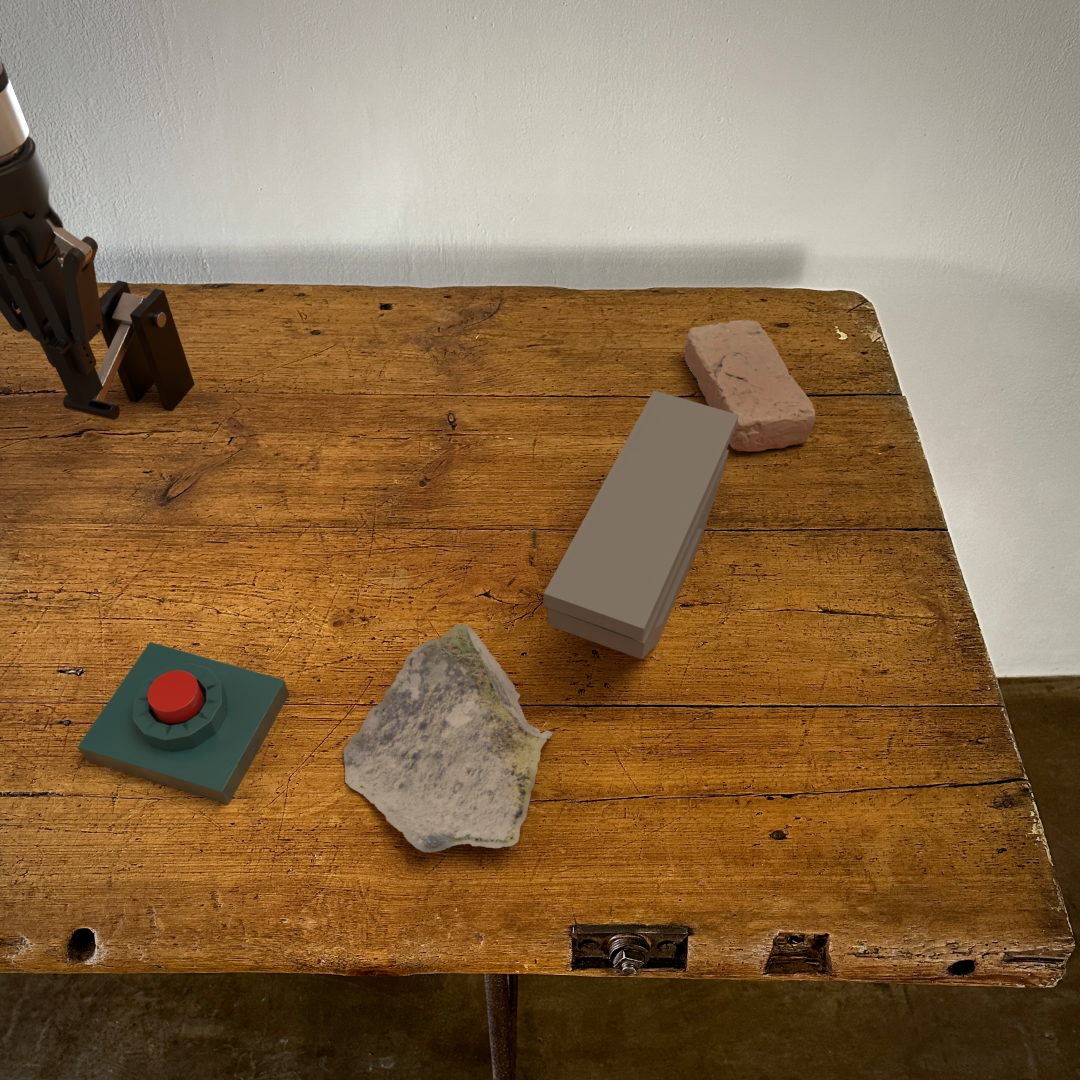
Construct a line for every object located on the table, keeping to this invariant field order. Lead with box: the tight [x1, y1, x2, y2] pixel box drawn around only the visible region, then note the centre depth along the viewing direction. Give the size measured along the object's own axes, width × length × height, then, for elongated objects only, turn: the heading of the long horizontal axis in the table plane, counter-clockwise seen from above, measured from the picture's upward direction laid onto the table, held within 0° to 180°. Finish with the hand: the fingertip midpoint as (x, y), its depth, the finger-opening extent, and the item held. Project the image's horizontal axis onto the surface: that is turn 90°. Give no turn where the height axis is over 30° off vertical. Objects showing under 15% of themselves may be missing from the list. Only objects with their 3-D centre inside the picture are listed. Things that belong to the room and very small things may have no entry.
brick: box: [683, 319, 816, 452], centre depth 101 cm, size 17×8×5 cm, turn 13°
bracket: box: [99, 279, 195, 412], centre depth 96 cm, size 12×9×13 cm
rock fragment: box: [343, 623, 553, 853], centre depth 72 cm, size 15×16×5 cm
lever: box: [62, 293, 146, 421], centre depth 91 cm, size 12×5×2 cm, turn 163°
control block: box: [77, 641, 290, 806], centre depth 74 cm, size 12×10×4 cm
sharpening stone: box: [542, 390, 739, 660], centre depth 82 cm, size 25×8×11 cm, turn 157°
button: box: [148, 671, 203, 724], centre depth 73 cm, size 4×4×2 cm
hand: (87, 395), depth 88 cm, fingers closed
